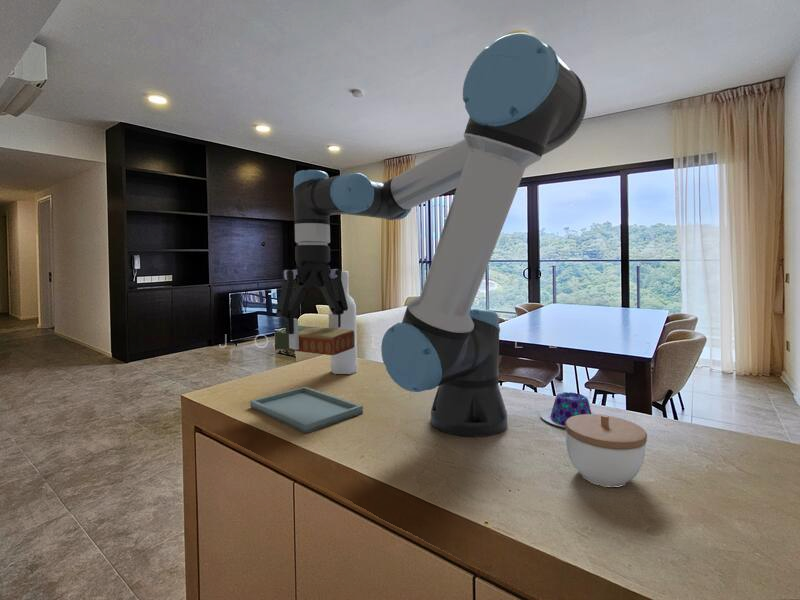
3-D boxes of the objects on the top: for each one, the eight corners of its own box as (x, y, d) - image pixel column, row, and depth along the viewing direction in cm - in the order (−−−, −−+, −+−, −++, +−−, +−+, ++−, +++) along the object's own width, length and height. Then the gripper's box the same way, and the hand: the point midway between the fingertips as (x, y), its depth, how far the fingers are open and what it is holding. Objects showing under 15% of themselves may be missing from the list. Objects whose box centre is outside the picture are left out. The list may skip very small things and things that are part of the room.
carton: (333, 356, 86) (332, 336, 85) (274, 349, 93) (273, 330, 92) (355, 348, 93) (354, 329, 93) (298, 341, 100) (298, 324, 100)
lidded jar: (663, 490, 58) (666, 424, 57) (600, 503, 55) (602, 434, 54) (605, 456, 68) (607, 400, 68) (549, 465, 65) (550, 407, 64)
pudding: (529, 421, 85) (529, 396, 84) (555, 406, 93) (556, 384, 93) (590, 438, 76) (590, 410, 76) (613, 420, 84) (613, 395, 84)
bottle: (362, 371, 124) (361, 270, 121) (341, 376, 119) (338, 271, 116) (347, 367, 130) (345, 270, 127) (325, 371, 124) (323, 271, 122)
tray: (362, 413, 89) (362, 405, 89) (305, 433, 79) (305, 425, 79) (305, 392, 104) (304, 386, 104) (250, 407, 93) (250, 400, 93)
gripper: (343, 246, 101) (344, 336, 103) (256, 243, 86) (259, 350, 88) (363, 245, 96) (364, 340, 98) (273, 242, 80) (276, 355, 83)
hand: (314, 345), depth 93 cm, fingers closed on carton, 10 cm apart
